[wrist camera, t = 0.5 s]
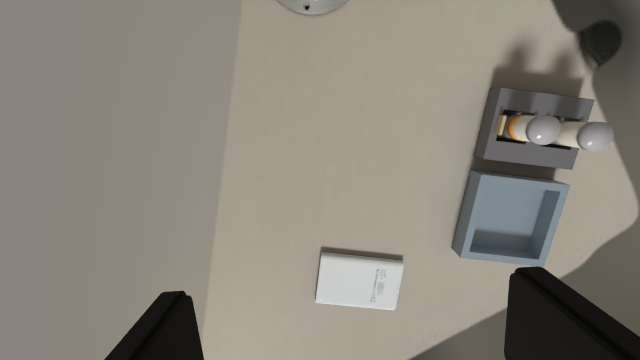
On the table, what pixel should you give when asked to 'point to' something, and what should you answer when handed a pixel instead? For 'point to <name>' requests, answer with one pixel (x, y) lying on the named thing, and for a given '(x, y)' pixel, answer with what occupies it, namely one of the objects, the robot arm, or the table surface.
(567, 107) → the fuse holder
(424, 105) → the table surface
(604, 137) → the fuse
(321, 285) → the external hard drive
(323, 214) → the table surface
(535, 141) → the marked fuse
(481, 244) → the tray
